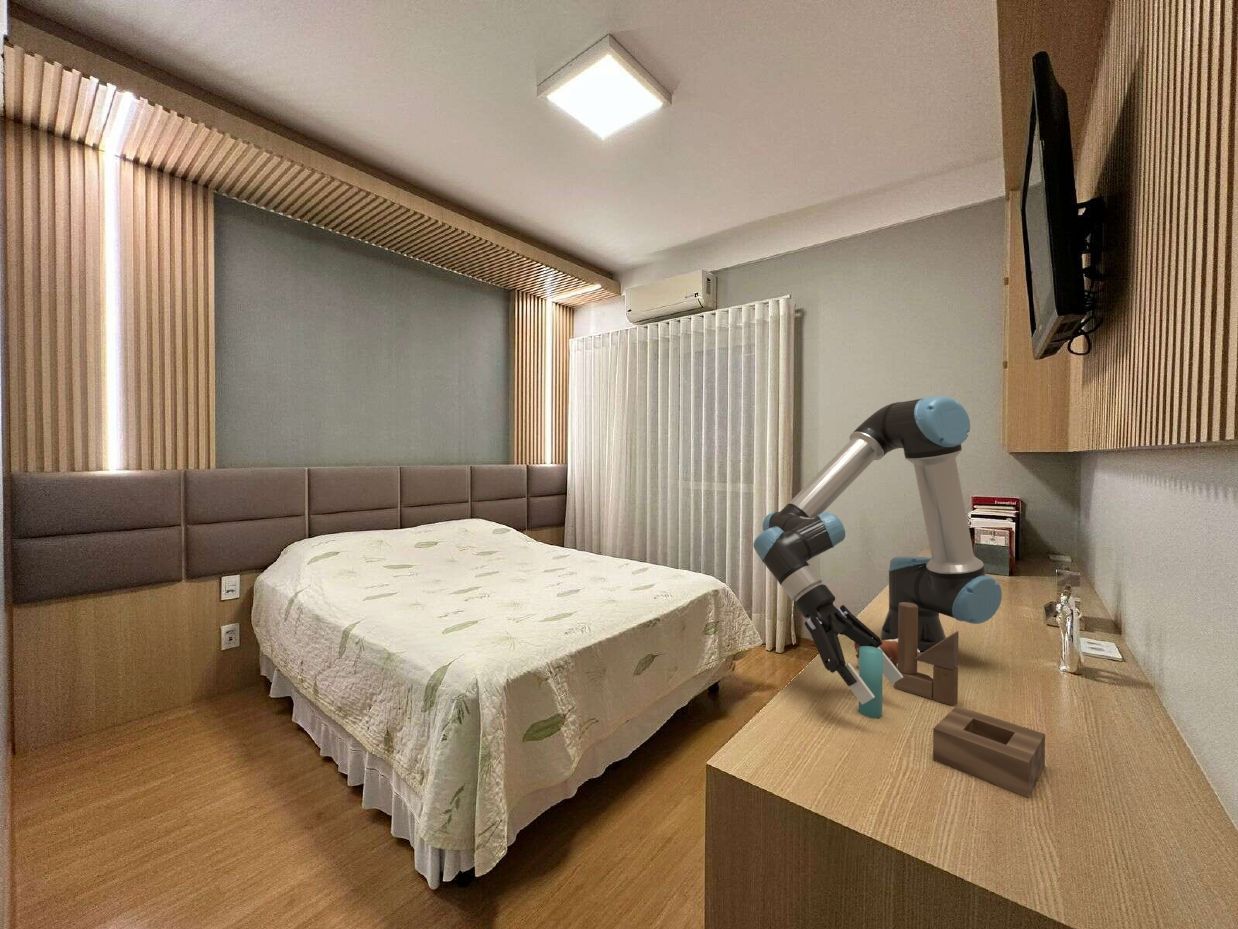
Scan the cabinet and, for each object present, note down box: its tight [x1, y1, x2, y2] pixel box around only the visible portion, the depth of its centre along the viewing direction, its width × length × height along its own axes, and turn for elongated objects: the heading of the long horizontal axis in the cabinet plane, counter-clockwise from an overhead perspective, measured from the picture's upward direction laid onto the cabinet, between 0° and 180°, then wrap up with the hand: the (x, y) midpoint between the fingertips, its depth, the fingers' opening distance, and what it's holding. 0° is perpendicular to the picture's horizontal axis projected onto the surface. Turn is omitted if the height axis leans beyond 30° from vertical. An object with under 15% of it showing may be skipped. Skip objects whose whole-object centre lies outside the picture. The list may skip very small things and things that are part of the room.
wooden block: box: [893, 602, 959, 707], centre depth 103 cm, size 4×11×18 cm, turn 42°
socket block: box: [932, 705, 1046, 798], centre depth 79 cm, size 12×12×5 cm
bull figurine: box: [853, 639, 921, 669], centre depth 115 cm, size 4×13×8 cm, turn 71°
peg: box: [858, 646, 884, 719], centre depth 95 cm, size 4×4×12 cm
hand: (883, 690), depth 93 cm, fingers open, 12 cm apart
